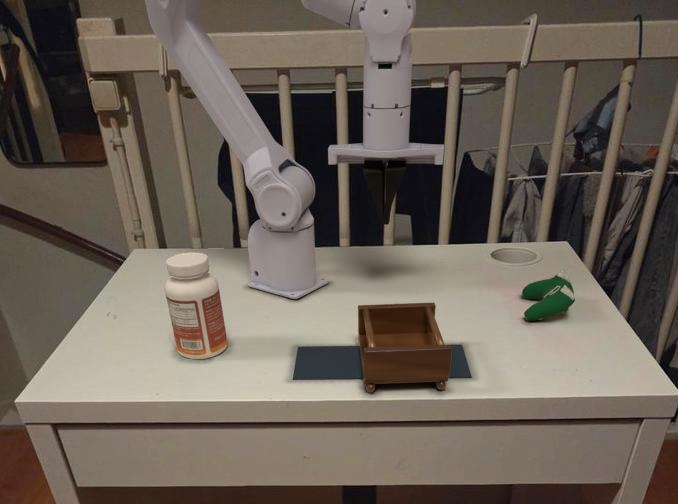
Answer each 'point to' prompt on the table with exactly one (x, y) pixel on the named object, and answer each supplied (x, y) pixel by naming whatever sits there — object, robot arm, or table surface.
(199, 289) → the pill bottle
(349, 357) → the mat
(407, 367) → the brown wooden box
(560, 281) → the green slippers
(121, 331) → the table surface
